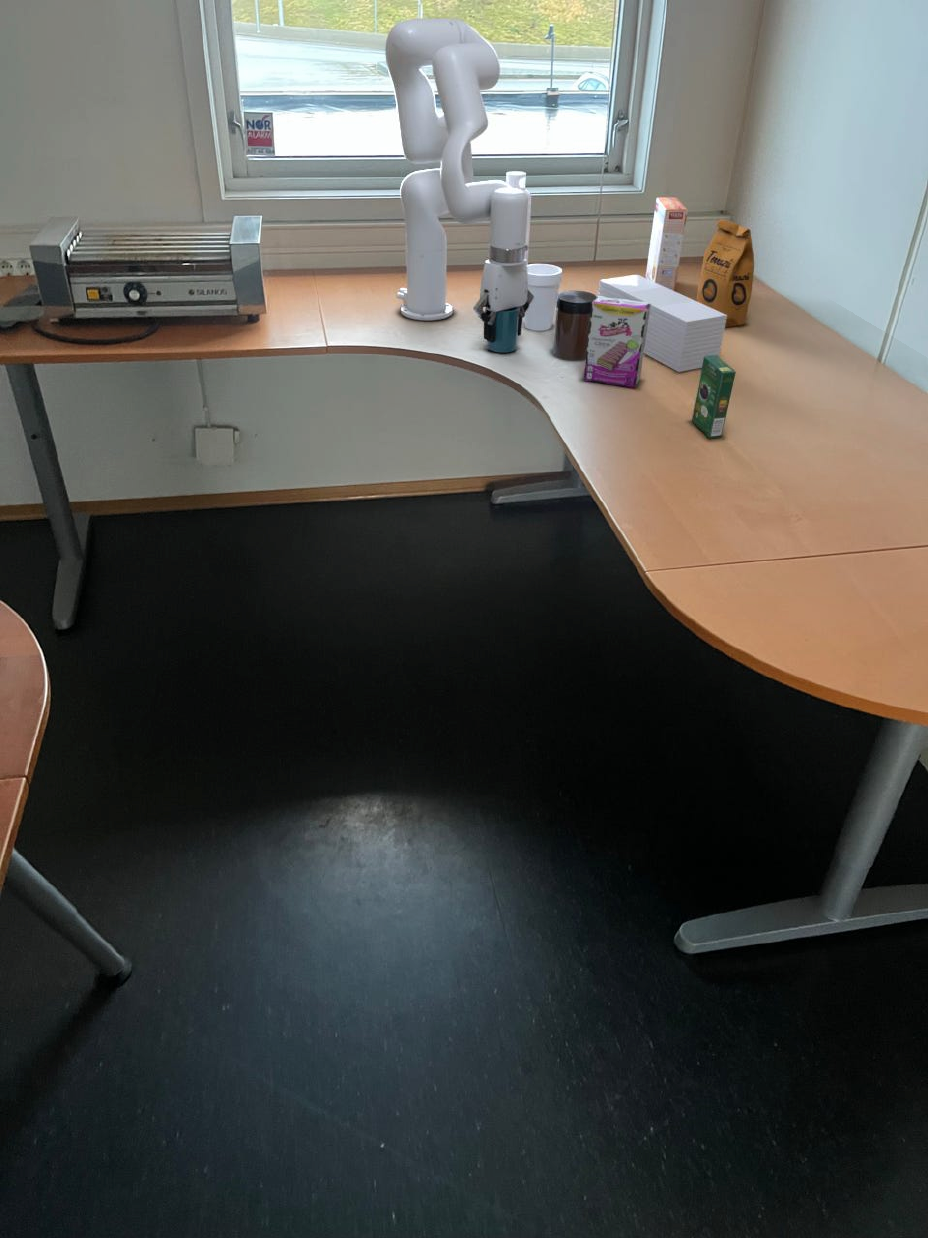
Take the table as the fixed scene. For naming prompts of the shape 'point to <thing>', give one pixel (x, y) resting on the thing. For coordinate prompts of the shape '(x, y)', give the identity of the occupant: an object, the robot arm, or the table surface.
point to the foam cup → (542, 295)
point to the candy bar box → (616, 341)
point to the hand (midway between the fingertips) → (502, 336)
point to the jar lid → (575, 301)
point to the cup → (505, 331)
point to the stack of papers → (671, 322)
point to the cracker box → (666, 242)
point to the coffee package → (728, 273)
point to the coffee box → (713, 396)
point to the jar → (571, 335)
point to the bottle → (518, 182)
